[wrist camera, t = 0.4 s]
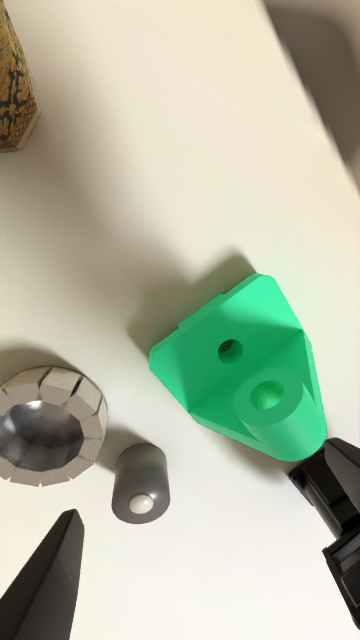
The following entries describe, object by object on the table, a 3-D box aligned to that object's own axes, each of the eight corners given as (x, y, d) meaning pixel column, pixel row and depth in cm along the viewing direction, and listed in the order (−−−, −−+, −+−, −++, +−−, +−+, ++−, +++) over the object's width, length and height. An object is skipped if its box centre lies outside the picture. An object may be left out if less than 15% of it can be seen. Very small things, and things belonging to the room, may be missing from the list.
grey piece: (129, 416, 23) (126, 439, 20) (52, 473, 23) (40, 503, 20) (53, 344, 20) (38, 359, 17) (-32, 411, 20) (-59, 436, 18)
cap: (175, 463, 25) (181, 503, 21) (138, 490, 25) (137, 535, 21) (145, 434, 24) (145, 472, 20) (106, 463, 24) (98, 506, 20)
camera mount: (254, 267, 21) (352, 281, 11) (292, 333, 23) (402, 393, 13) (143, 348, 21) (142, 431, 11) (191, 404, 24) (225, 513, 14)
